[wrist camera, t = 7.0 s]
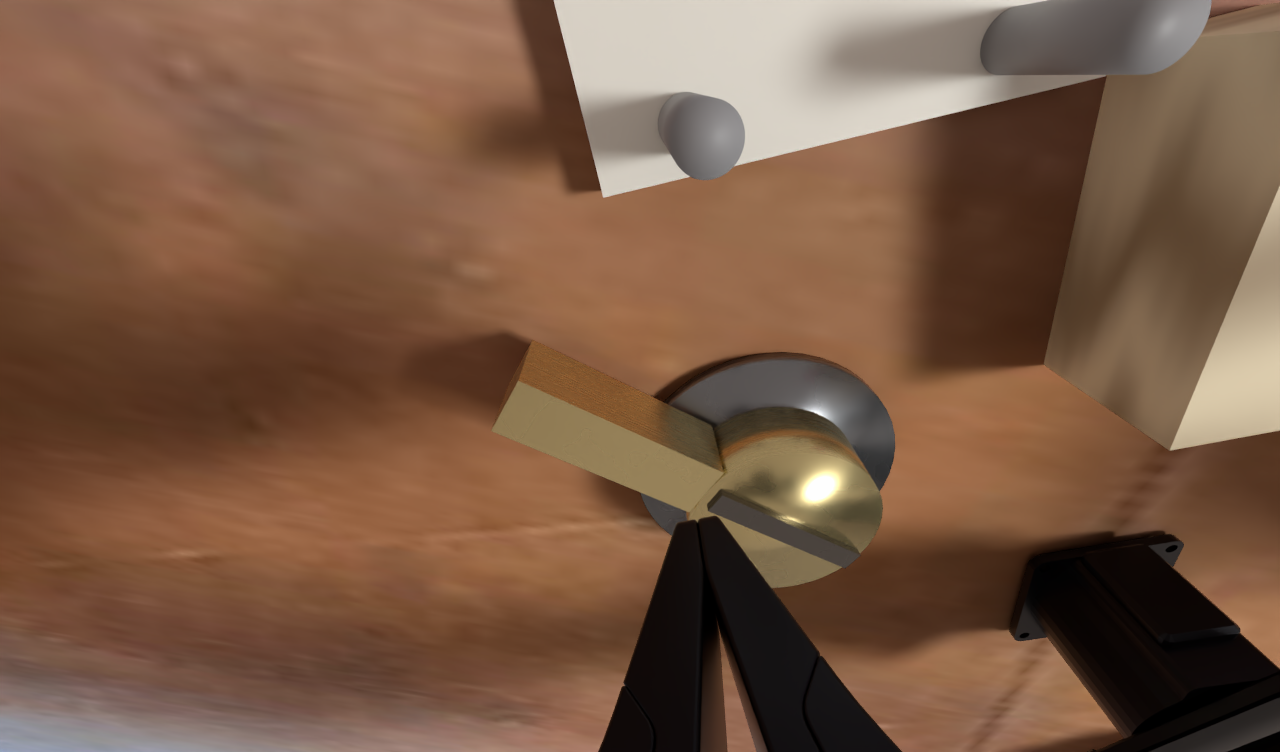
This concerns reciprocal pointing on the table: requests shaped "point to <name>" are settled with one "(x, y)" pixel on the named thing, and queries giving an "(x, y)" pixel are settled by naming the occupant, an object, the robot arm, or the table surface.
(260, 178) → the table surface
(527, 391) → the brass lever handle
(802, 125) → the peg rack
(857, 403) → the base
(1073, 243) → the beech bar
